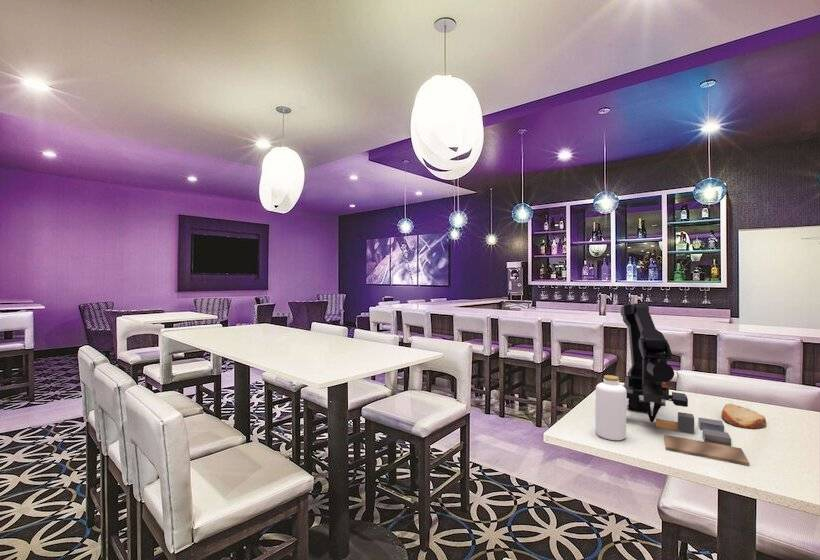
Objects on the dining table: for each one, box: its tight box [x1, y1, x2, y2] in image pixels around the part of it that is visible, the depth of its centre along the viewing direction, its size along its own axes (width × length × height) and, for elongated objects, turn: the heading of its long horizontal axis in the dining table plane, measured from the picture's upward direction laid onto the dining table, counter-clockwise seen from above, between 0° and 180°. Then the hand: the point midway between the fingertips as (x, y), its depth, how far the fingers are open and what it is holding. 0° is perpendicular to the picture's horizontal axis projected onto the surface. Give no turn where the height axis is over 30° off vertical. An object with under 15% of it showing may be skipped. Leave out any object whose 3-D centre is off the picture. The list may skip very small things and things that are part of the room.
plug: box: [655, 411, 695, 435], centre depth 125 cm, size 10×4×5 cm, turn 59°
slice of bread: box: [721, 403, 767, 430], centre depth 135 cm, size 18×18×4 cm
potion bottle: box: [594, 374, 628, 441], centre depth 119 cm, size 8×8×18 cm
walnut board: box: [663, 434, 750, 467], centre depth 110 cm, size 18×10×1 cm, turn 59°
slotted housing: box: [697, 417, 732, 447], centre depth 120 cm, size 6×16×2 cm, turn 149°
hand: (651, 421), depth 129 cm, fingers closed
